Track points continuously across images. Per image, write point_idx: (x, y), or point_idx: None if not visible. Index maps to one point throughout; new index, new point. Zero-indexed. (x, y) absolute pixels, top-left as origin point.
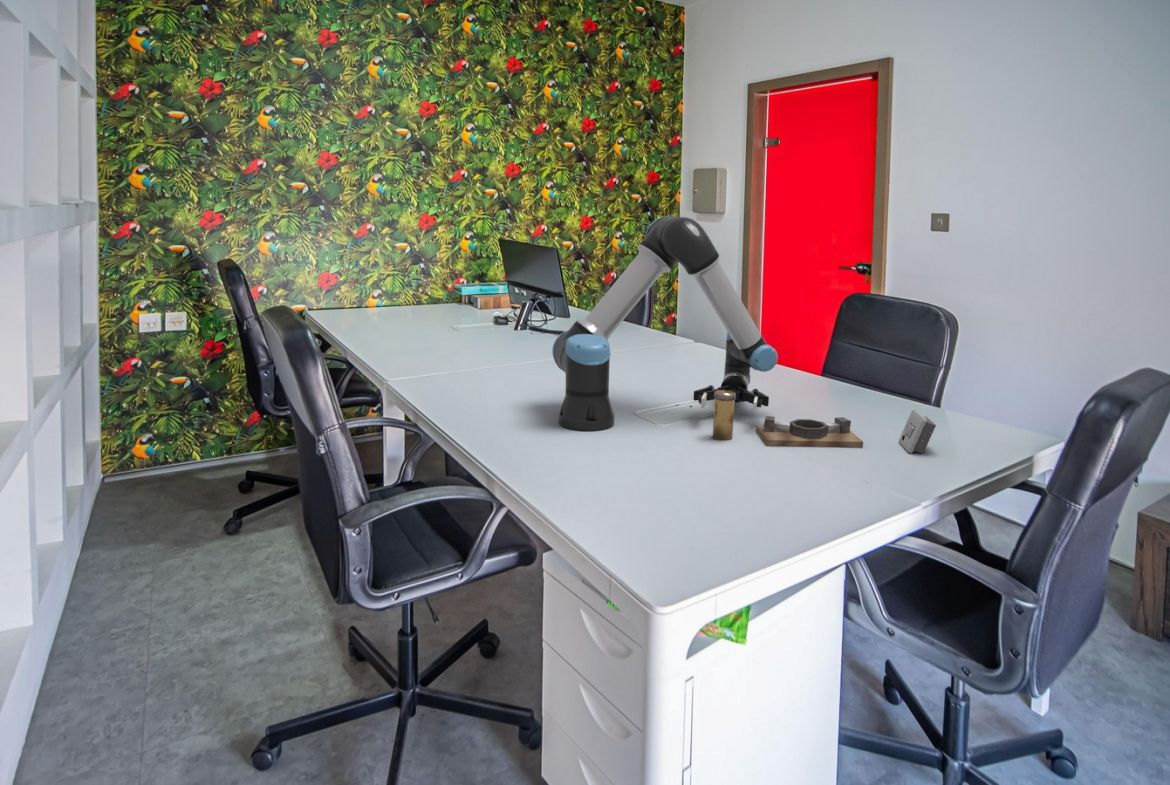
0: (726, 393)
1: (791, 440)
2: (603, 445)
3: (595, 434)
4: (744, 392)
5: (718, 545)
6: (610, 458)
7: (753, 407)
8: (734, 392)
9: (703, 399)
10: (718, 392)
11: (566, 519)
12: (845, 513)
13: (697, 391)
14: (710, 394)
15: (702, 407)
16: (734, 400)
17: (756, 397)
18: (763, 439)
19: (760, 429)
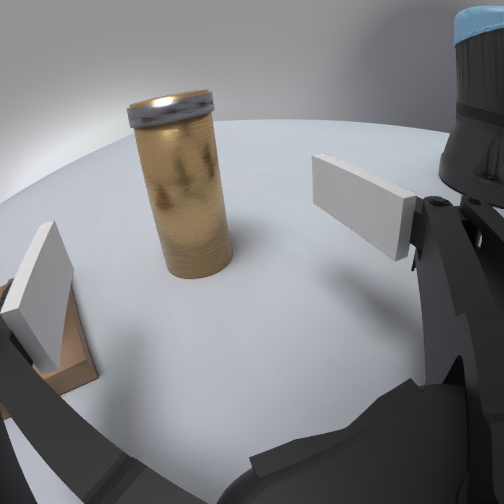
0: (160, 97)
1: (4, 285)
2: (361, 155)
3: (420, 167)
4: (125, 454)
5: (129, 142)
6: (308, 145)
7: (63, 246)
8: (132, 104)
9: (315, 159)
10: (191, 91)
11: (236, 121)
12: (29, 191)
13: (471, 203)
14: (430, 255)
15: (317, 197)
16: (134, 131)
17: (12, 295)
18: (70, 289)
19: (69, 322)
